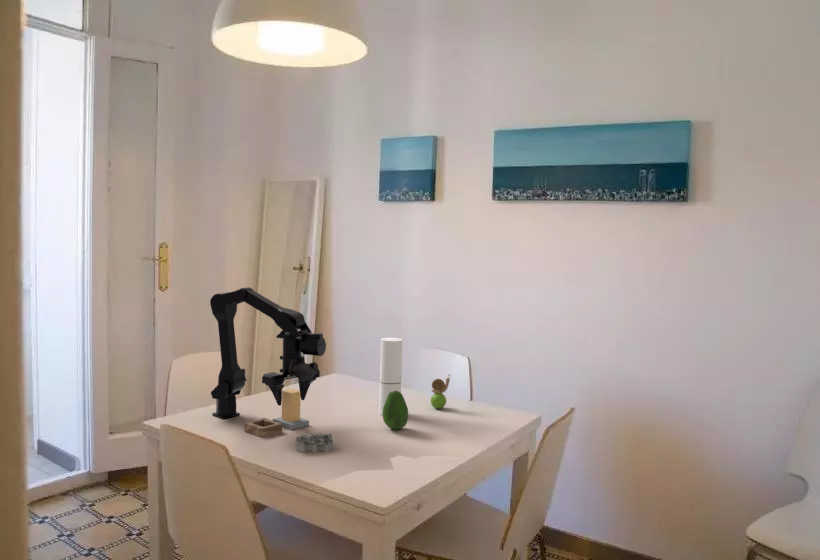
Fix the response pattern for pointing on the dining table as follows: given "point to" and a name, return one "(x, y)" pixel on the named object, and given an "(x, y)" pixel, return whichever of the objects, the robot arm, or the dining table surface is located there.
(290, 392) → the amber plug
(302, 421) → the grey rubber mat
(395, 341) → the cylindrical container
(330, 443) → the egg carton
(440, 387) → the snail figurine
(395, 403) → the avocado
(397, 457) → the dining table surface
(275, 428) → the brown square frame
